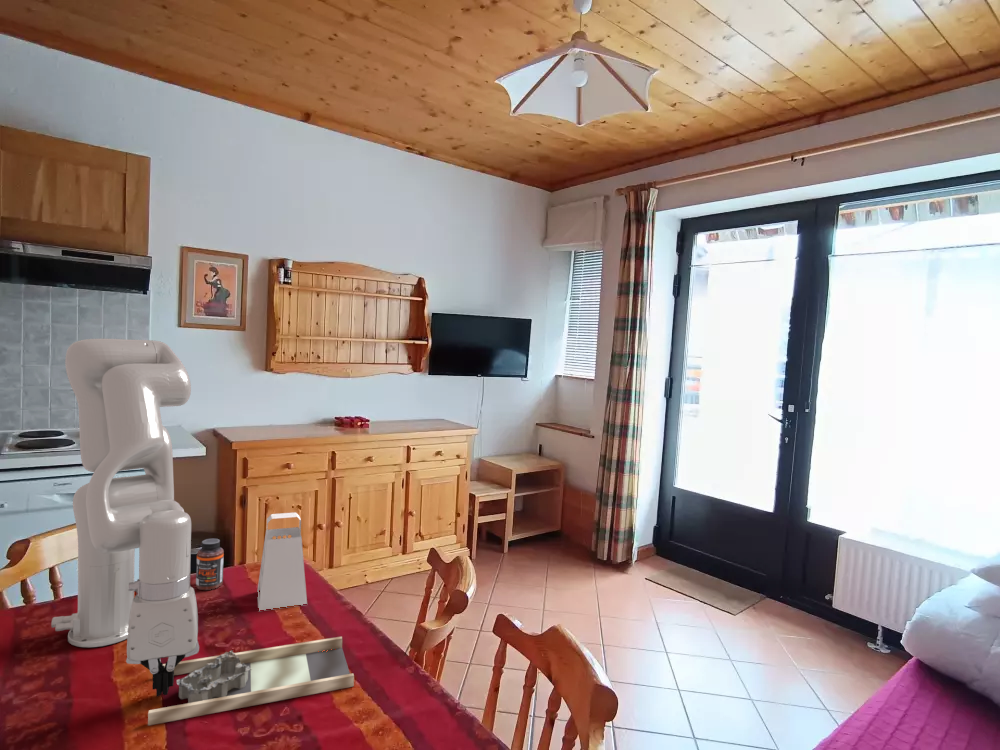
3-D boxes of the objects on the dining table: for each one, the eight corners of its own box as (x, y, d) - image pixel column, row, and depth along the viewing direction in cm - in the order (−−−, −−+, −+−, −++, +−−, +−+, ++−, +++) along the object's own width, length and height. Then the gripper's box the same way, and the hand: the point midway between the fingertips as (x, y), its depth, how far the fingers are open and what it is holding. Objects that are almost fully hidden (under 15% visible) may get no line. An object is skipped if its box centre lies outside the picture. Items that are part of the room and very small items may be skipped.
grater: (257, 592, 140) (259, 510, 139) (302, 586, 145) (305, 507, 144) (258, 611, 131) (260, 524, 130) (307, 604, 135) (309, 520, 134)
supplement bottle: (194, 592, 138) (195, 546, 138) (196, 582, 144) (197, 538, 143) (222, 589, 141) (223, 543, 140) (223, 579, 146) (224, 535, 146)
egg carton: (234, 669, 108) (234, 647, 108) (254, 685, 103) (255, 663, 103) (172, 693, 100) (173, 670, 100) (191, 712, 95) (192, 688, 95)
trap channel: (148, 725, 92) (148, 713, 92) (160, 675, 105) (160, 664, 105) (353, 686, 105) (354, 675, 104) (341, 646, 118) (341, 636, 118)
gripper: (107, 601, 91) (105, 713, 92) (212, 589, 97) (210, 695, 98) (117, 582, 98) (116, 687, 99) (215, 572, 104) (213, 671, 105)
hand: (163, 690), depth 99 cm, fingers closed
